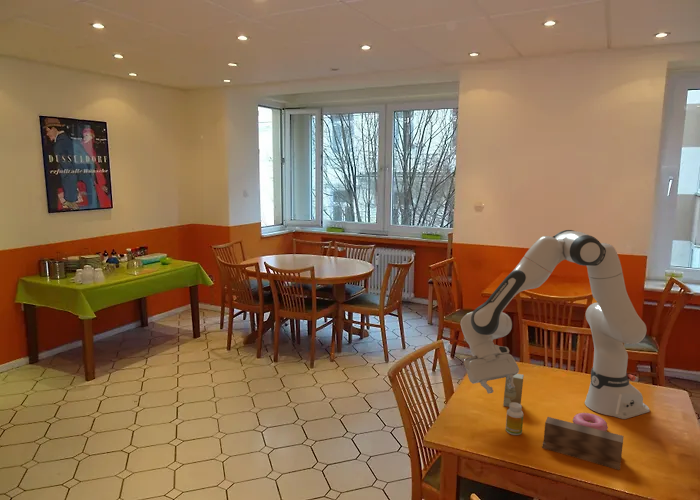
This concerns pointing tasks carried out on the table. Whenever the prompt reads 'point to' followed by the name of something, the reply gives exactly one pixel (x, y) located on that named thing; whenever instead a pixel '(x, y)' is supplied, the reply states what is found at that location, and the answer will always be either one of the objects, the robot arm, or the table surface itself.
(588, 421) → the doughnut
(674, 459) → the table surface
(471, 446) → the table surface
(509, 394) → the skincare box
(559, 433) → the beam
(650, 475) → the table surface
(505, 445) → the table surface
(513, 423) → the supplement bottle
